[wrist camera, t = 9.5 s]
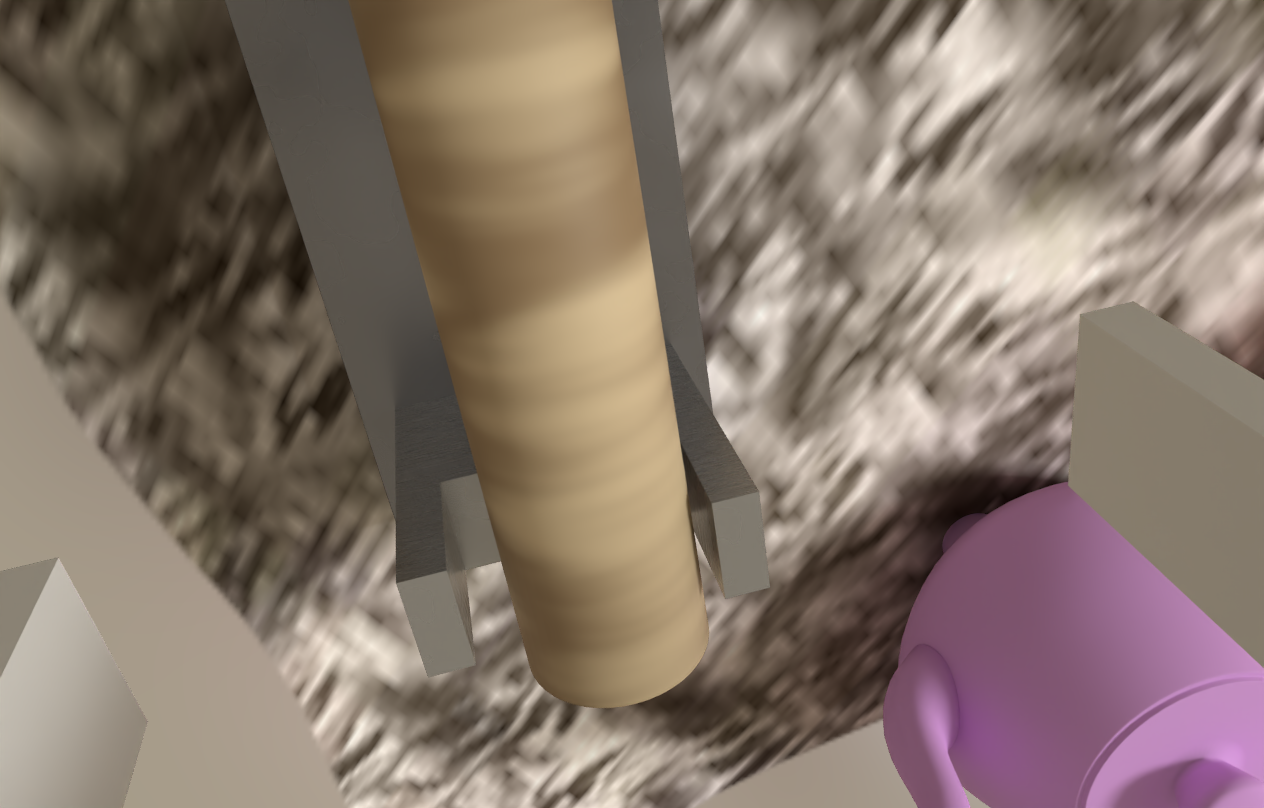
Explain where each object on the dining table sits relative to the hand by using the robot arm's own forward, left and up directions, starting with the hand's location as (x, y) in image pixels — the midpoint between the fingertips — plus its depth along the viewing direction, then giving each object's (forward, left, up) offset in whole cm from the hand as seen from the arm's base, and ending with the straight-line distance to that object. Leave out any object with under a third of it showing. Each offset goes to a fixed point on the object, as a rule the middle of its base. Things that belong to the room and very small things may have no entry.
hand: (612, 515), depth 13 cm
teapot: (+22, +17, -19) cm, 34 cm away
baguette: (0, -1, -13) cm, 13 cm away
